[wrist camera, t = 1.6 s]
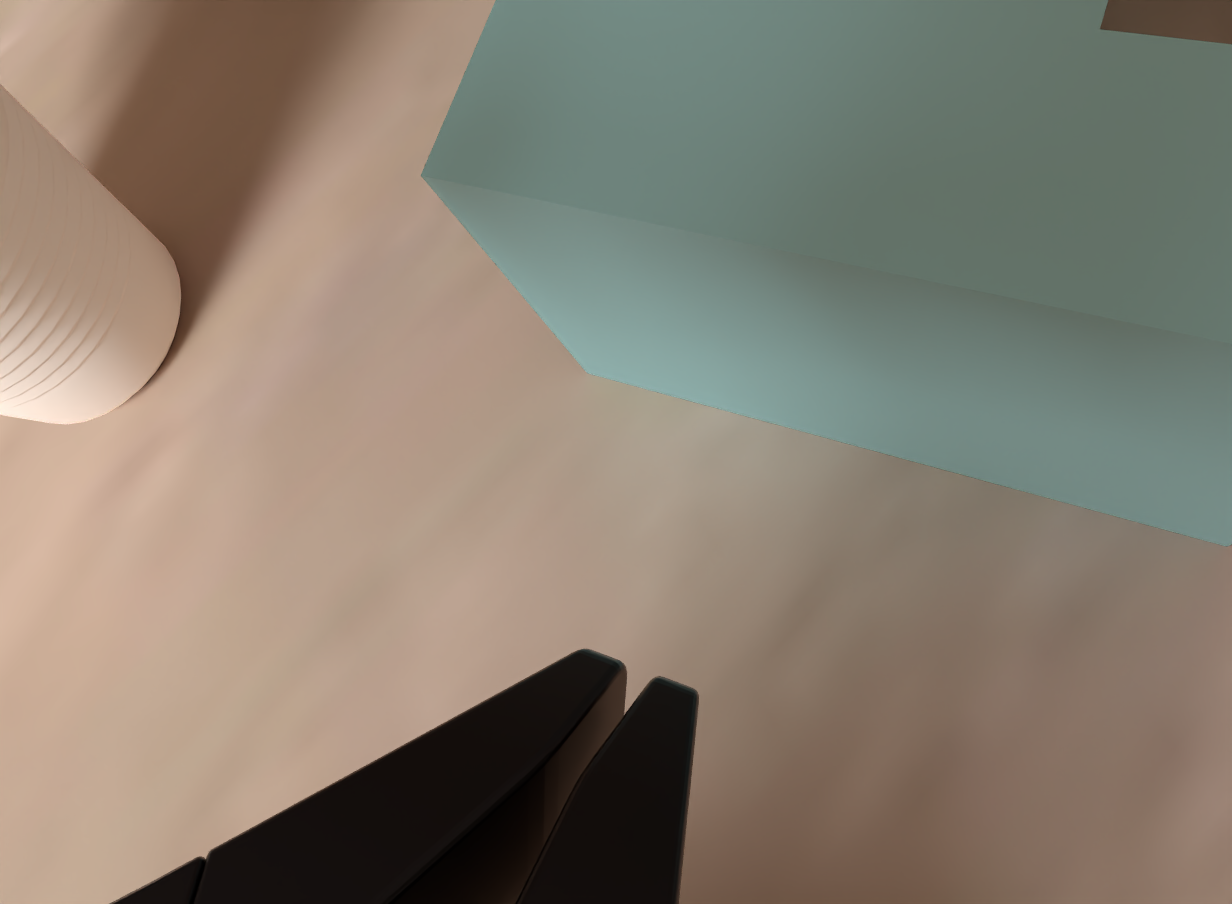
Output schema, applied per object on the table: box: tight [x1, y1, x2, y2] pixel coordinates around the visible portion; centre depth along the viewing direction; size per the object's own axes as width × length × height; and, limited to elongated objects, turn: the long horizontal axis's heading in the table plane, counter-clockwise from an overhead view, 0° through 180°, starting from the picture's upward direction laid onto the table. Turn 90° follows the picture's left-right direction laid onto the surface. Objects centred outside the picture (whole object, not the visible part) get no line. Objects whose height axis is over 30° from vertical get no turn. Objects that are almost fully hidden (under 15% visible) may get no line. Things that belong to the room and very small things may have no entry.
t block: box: [421, 0, 1232, 547], centre depth 18 cm, size 14×14×9 cm
